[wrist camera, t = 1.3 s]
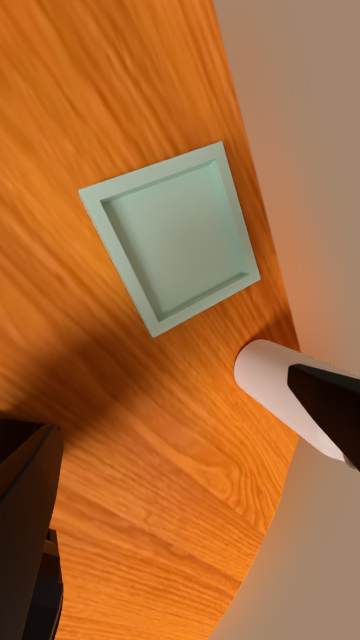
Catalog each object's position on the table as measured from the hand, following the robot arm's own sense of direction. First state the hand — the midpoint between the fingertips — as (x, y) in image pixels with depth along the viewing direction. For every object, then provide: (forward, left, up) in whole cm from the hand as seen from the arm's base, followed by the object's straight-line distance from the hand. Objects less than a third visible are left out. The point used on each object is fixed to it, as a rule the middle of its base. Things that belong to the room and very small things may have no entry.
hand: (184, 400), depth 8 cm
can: (0, -15, -13) cm, 20 cm away
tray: (+8, -1, -12) cm, 15 cm away
